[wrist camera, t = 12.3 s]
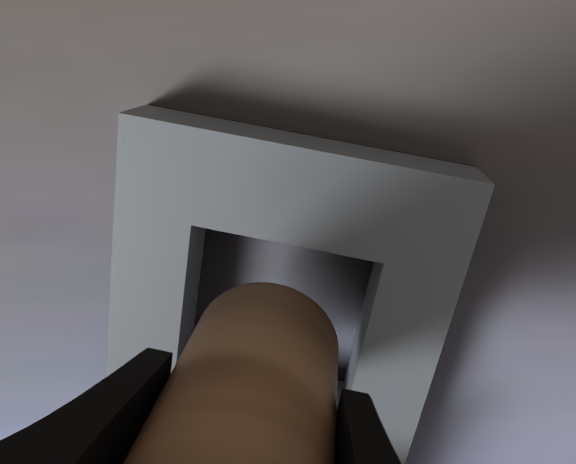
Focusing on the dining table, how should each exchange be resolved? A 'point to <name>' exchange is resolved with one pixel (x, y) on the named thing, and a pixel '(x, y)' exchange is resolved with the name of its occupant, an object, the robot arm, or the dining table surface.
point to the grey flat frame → (293, 239)
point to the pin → (249, 385)
